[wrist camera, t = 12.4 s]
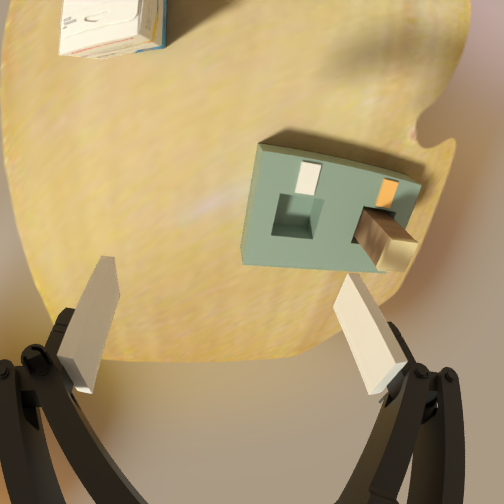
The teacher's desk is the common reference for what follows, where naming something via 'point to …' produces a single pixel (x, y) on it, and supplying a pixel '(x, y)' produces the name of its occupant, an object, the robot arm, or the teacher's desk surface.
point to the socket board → (317, 209)
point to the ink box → (111, 27)
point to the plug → (384, 240)
